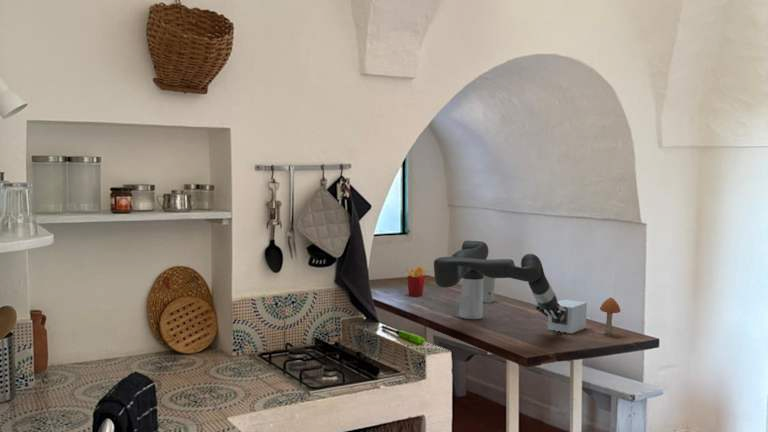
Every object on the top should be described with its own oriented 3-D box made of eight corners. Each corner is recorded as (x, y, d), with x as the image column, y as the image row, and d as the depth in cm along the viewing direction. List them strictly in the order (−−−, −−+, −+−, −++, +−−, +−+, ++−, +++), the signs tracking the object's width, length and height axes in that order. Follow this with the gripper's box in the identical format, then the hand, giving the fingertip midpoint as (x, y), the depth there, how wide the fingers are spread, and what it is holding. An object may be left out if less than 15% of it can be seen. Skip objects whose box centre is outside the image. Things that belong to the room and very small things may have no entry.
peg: (561, 322, 302) (561, 312, 302) (552, 320, 305) (552, 311, 304) (574, 317, 312) (574, 308, 311) (565, 316, 314) (565, 306, 314)
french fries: (406, 295, 377) (406, 265, 375) (414, 293, 383) (415, 264, 382) (421, 298, 372) (422, 267, 371) (430, 295, 379) (430, 265, 377)
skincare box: (473, 301, 365) (474, 269, 363) (477, 299, 371) (478, 267, 370) (491, 303, 361) (492, 270, 360) (494, 301, 368) (495, 268, 367)
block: (570, 333, 302) (571, 307, 301) (547, 329, 309) (548, 304, 308) (585, 327, 314) (586, 302, 313) (563, 324, 320) (564, 299, 319)
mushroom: (616, 337, 297) (618, 299, 296) (596, 335, 301) (597, 297, 300) (621, 334, 304) (623, 296, 303) (601, 331, 308) (603, 294, 307)
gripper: (525, 300, 294) (538, 326, 305) (556, 305, 286) (569, 332, 297) (532, 285, 298) (545, 311, 309) (563, 289, 290) (576, 316, 300)
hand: (557, 321), depth 303 cm, fingers closed
